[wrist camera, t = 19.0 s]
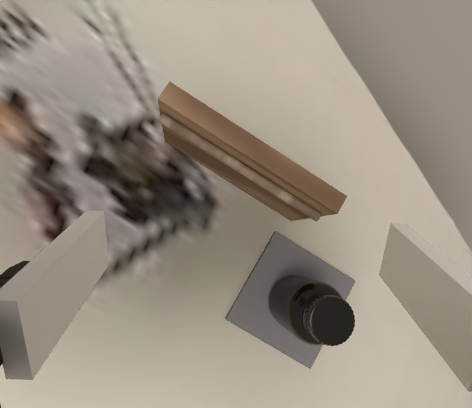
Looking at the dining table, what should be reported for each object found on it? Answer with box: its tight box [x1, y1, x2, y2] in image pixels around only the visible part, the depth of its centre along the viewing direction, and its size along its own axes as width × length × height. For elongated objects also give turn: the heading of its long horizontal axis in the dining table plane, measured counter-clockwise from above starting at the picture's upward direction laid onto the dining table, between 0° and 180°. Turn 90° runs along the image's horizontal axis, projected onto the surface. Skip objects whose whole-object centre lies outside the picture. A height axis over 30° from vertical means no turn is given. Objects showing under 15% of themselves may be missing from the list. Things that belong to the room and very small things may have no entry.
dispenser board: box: [158, 82, 347, 221], centre depth 39 cm, size 7×20×14 cm, turn 59°
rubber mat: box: [225, 232, 355, 369], centre depth 45 cm, size 13×13×1 cm
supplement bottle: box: [269, 275, 355, 346], centre depth 39 cm, size 7×7×12 cm
